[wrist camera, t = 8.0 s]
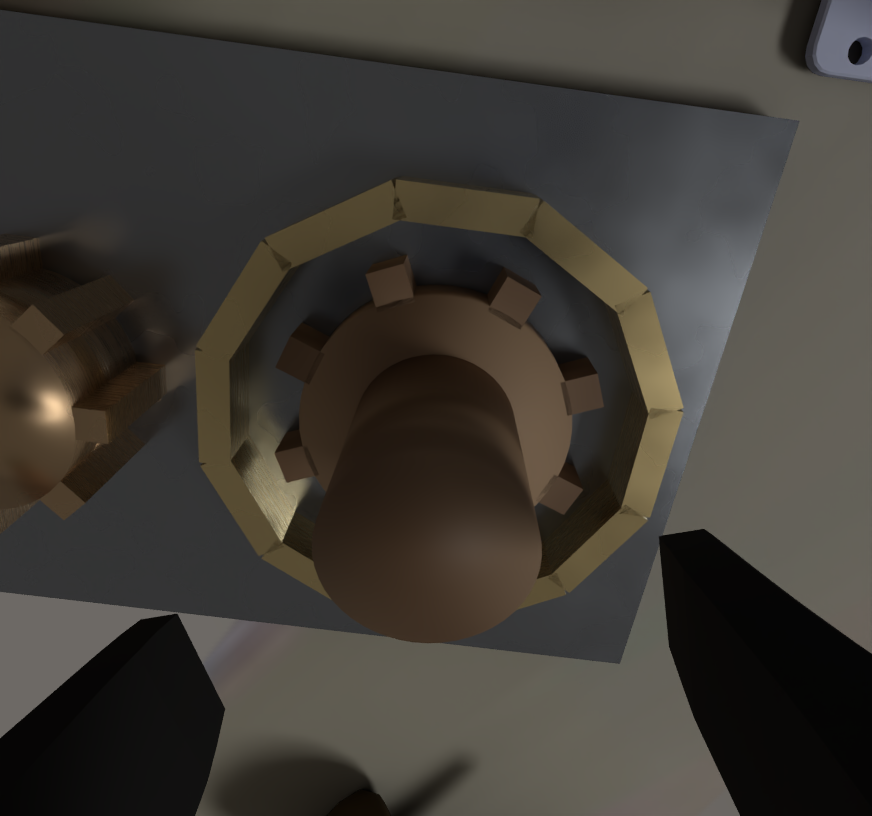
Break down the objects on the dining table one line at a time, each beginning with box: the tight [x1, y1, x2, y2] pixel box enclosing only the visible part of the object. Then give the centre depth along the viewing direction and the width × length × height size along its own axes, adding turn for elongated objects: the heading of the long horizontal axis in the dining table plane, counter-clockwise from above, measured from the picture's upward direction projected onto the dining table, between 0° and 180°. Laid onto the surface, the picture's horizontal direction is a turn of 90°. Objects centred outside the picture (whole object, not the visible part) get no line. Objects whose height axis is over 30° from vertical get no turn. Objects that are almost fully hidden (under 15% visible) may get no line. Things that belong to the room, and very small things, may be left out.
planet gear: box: [274, 255, 604, 643], centre depth 13 cm, size 8×8×6 cm
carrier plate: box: [0, 10, 799, 664], centre depth 15 cm, size 22×16×4 cm
